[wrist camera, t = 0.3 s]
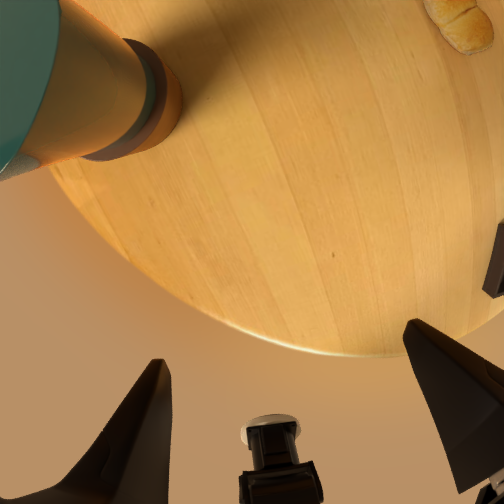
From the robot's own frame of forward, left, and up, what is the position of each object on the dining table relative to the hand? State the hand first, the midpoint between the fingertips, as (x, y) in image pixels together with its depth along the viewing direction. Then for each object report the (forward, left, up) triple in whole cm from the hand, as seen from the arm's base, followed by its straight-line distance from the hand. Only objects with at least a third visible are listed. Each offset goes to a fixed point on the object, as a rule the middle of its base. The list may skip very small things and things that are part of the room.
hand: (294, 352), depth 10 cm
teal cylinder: (+10, +8, -8) cm, 15 cm away
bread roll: (+21, -21, -14) cm, 33 cm away
